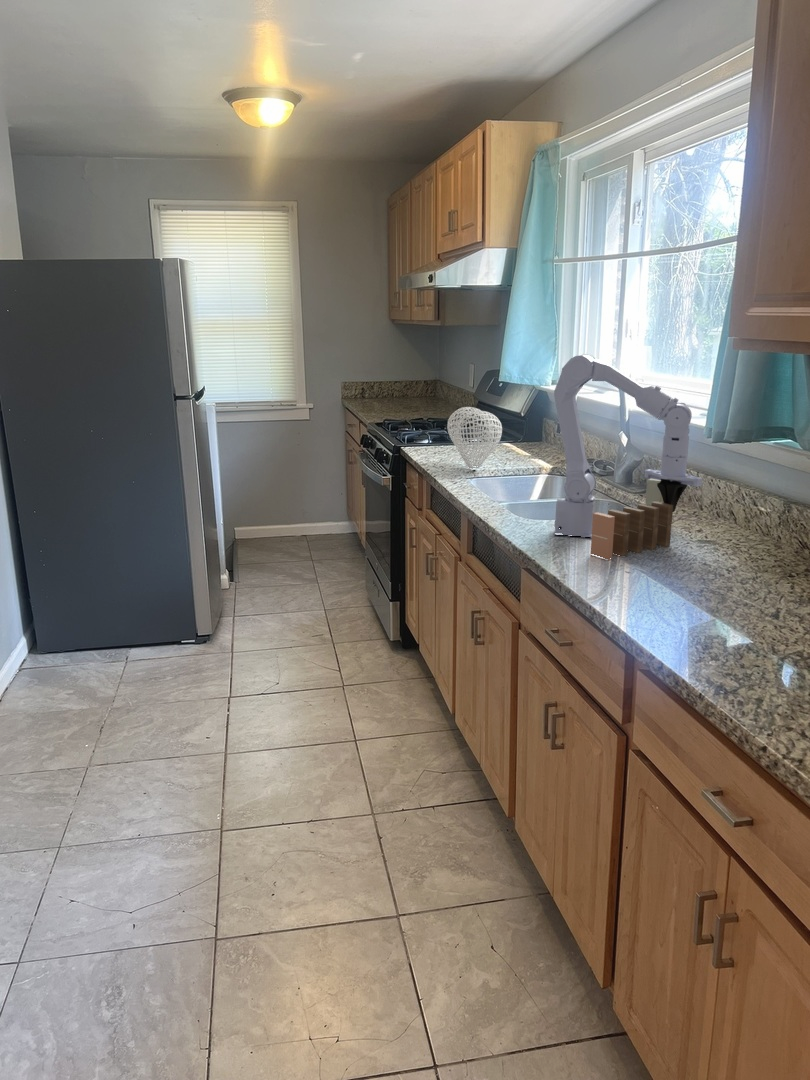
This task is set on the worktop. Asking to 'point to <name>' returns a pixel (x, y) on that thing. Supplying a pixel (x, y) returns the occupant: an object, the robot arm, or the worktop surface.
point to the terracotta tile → (602, 535)
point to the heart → (458, 438)
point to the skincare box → (653, 492)
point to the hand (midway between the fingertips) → (669, 511)
